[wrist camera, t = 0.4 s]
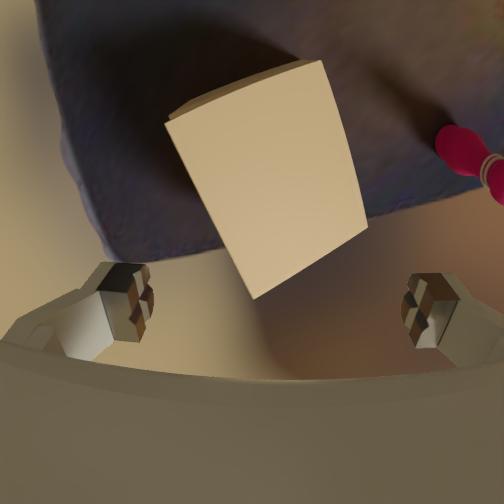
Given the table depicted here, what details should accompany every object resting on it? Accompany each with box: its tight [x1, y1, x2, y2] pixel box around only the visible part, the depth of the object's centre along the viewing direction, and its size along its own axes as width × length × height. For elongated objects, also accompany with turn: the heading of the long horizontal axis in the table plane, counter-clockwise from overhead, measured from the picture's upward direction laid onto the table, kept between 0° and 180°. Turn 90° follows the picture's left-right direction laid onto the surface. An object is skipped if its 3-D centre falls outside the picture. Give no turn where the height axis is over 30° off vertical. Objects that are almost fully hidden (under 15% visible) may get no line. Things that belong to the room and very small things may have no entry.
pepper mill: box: [435, 125, 504, 206], centre depth 34 cm, size 7×7×20 cm
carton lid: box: [164, 60, 368, 299], centre depth 31 cm, size 20×16×1 cm
